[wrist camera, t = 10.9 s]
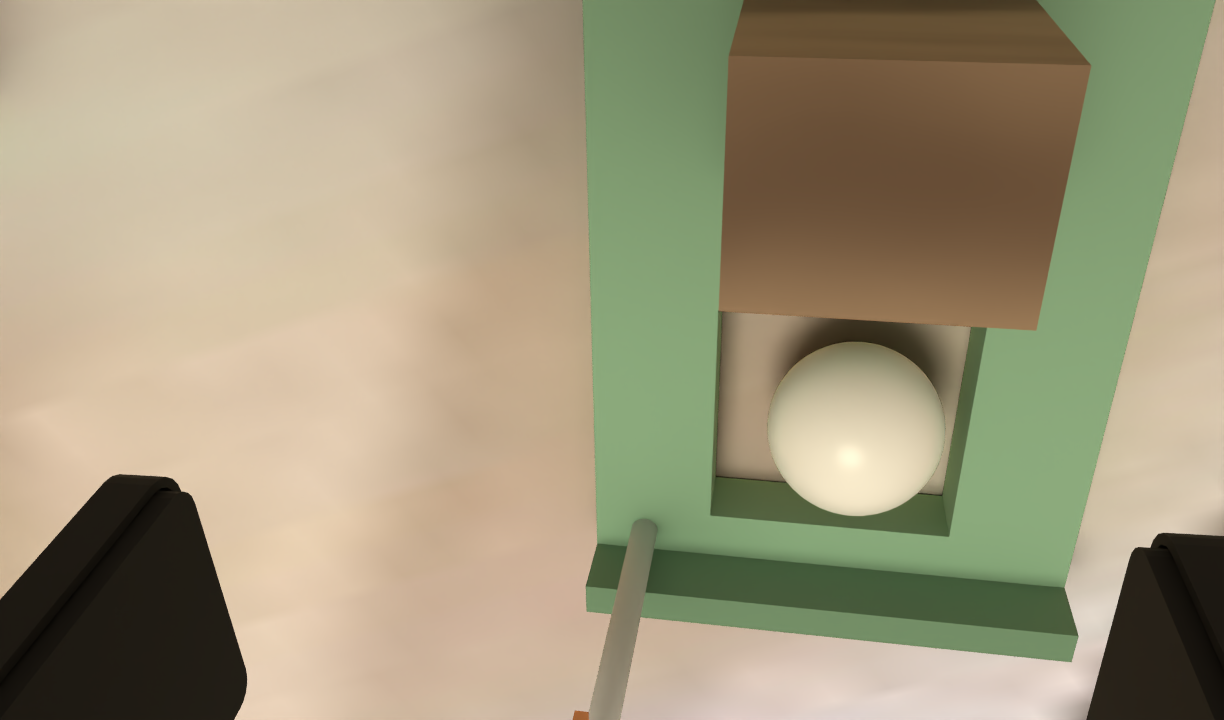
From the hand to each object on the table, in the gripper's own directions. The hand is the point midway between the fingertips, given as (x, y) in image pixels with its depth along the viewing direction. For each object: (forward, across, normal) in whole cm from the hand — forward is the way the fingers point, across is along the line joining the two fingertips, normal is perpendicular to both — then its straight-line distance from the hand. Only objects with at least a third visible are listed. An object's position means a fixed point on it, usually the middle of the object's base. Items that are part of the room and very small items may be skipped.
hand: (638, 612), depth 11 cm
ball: (+17, -4, +9) cm, 20 cm away
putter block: (+18, -3, 0) cm, 18 cm away
